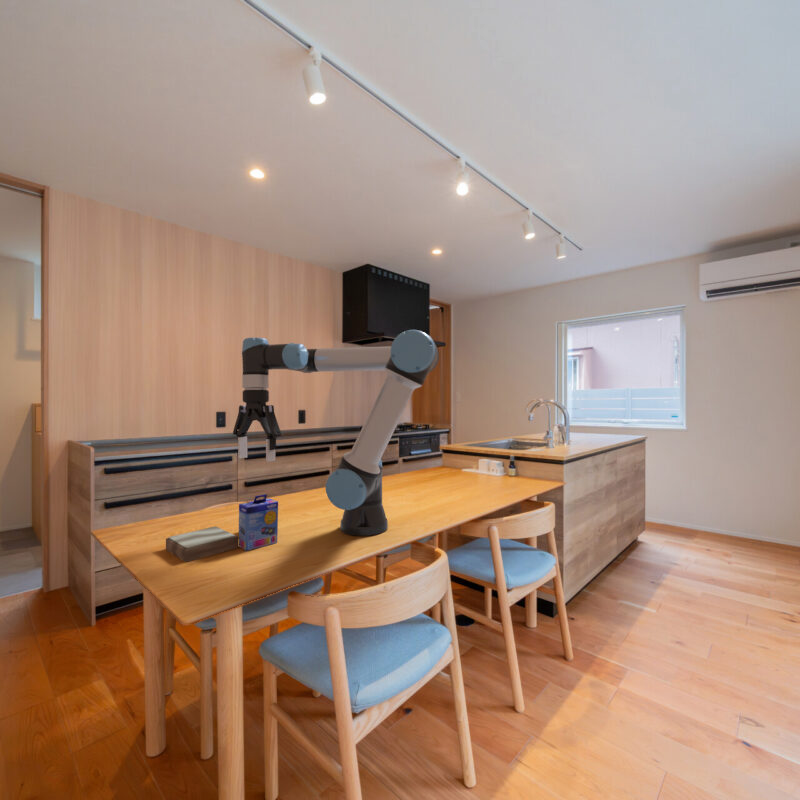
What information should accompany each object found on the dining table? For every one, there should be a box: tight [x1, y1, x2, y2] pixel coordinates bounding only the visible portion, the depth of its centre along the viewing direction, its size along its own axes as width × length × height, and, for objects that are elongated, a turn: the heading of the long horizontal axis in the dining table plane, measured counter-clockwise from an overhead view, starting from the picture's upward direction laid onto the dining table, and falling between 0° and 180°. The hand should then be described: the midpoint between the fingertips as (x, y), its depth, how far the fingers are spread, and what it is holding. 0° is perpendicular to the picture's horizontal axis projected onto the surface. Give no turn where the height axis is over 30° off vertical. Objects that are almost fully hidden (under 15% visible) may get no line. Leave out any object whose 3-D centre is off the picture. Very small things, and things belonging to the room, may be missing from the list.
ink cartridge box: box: [238, 493, 279, 552], centre depth 117 cm, size 10×6×14 cm, turn 136°
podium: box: [165, 525, 240, 563], centre depth 114 cm, size 14×14×3 cm
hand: (256, 459), depth 124 cm, fingers open, 13 cm apart
